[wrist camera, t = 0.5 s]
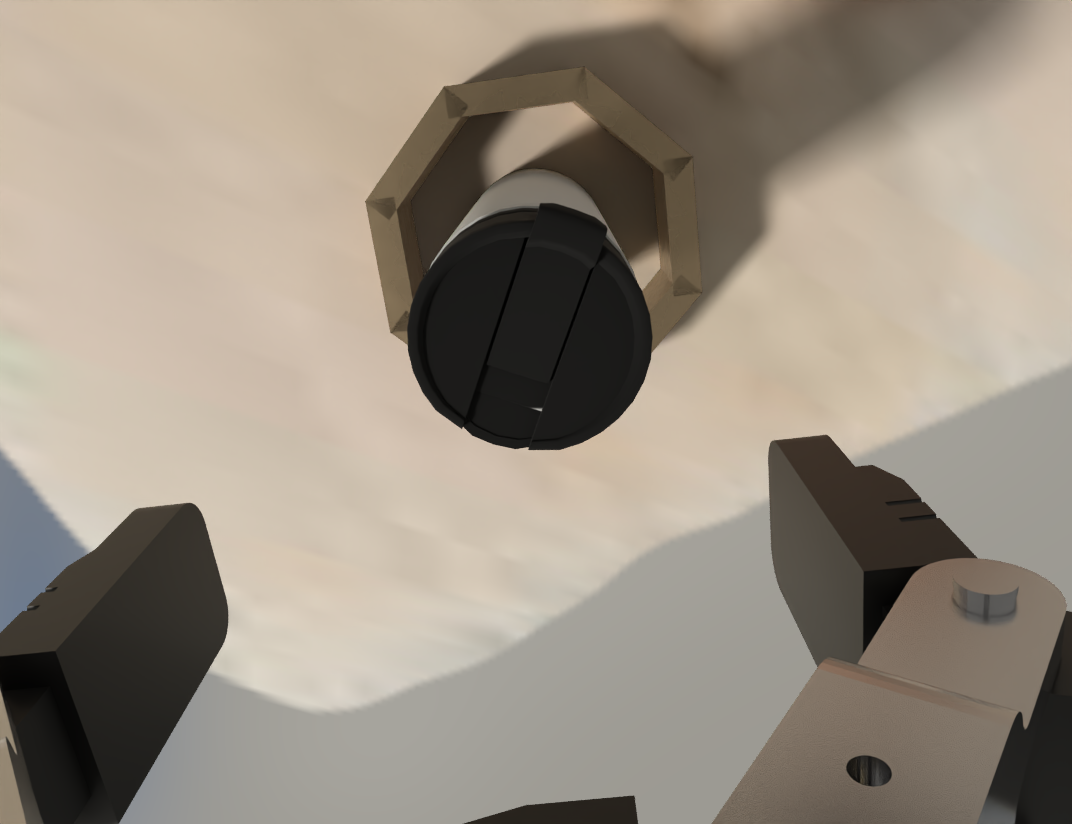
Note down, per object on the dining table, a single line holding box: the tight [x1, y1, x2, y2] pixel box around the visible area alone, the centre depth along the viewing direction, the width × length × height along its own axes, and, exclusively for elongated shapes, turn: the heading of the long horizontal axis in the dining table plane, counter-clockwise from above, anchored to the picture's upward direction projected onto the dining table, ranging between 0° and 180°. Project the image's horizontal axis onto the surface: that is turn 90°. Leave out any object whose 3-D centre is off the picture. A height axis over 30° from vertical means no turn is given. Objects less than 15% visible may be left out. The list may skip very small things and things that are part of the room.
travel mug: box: [407, 169, 653, 450], centre depth 31 cm, size 6×7×20 cm
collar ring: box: [365, 67, 702, 353], centre depth 38 cm, size 13×13×4 cm
